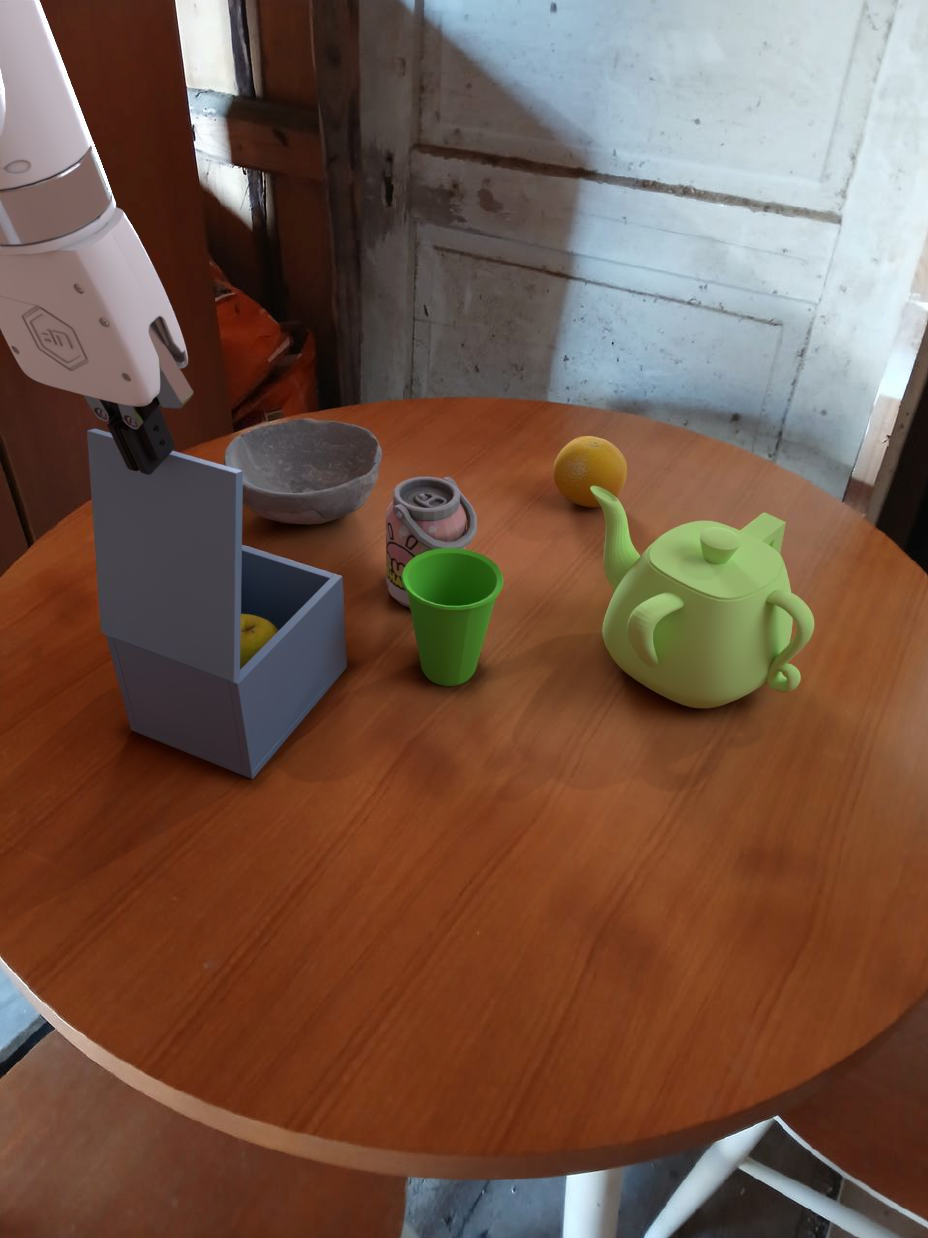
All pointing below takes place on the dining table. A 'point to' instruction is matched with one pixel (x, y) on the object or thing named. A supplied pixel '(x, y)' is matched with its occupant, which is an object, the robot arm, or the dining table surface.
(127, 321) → the robot arm
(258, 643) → the apple
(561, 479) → the fruit
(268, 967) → the dining table surface
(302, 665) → the chest
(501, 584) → the cup
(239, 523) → the lid
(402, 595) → the beverage can
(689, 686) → the teapot
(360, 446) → the bowl
